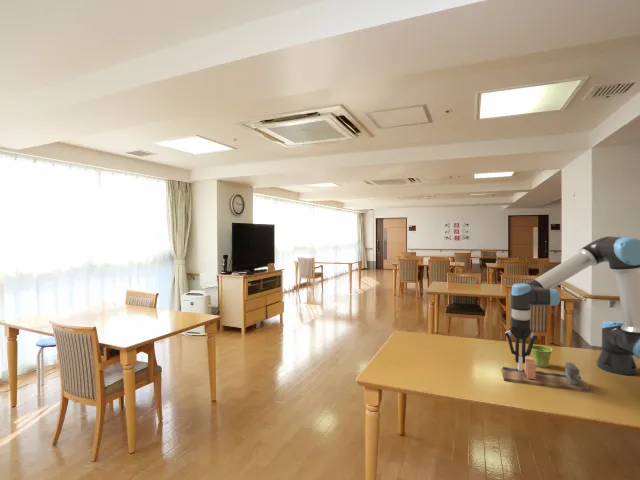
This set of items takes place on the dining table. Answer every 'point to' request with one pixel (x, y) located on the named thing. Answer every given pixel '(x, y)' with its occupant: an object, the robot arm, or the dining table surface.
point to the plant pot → (541, 355)
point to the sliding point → (530, 367)
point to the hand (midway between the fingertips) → (520, 369)
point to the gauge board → (548, 378)
